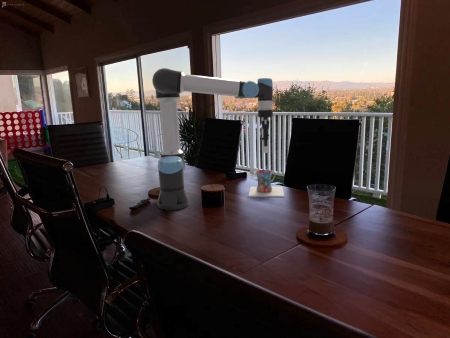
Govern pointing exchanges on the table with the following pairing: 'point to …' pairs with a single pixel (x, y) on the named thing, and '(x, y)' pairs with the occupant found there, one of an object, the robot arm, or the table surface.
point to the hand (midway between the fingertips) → (265, 150)
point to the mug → (264, 180)
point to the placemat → (275, 192)
